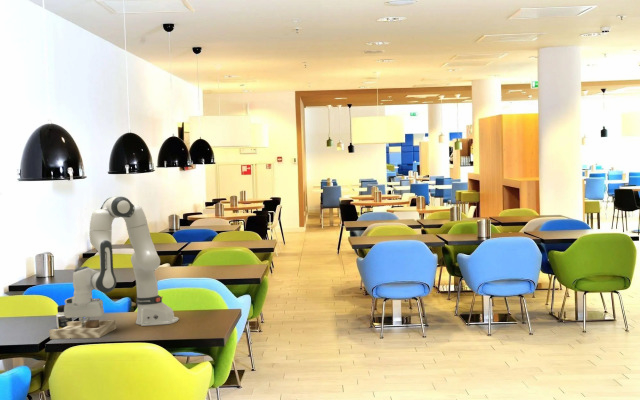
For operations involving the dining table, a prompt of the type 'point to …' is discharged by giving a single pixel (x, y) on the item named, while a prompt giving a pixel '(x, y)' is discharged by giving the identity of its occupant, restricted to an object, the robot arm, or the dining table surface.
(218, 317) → the dining table surface
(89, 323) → the walnut block
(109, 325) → the woven tray
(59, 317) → the medicine bottle
